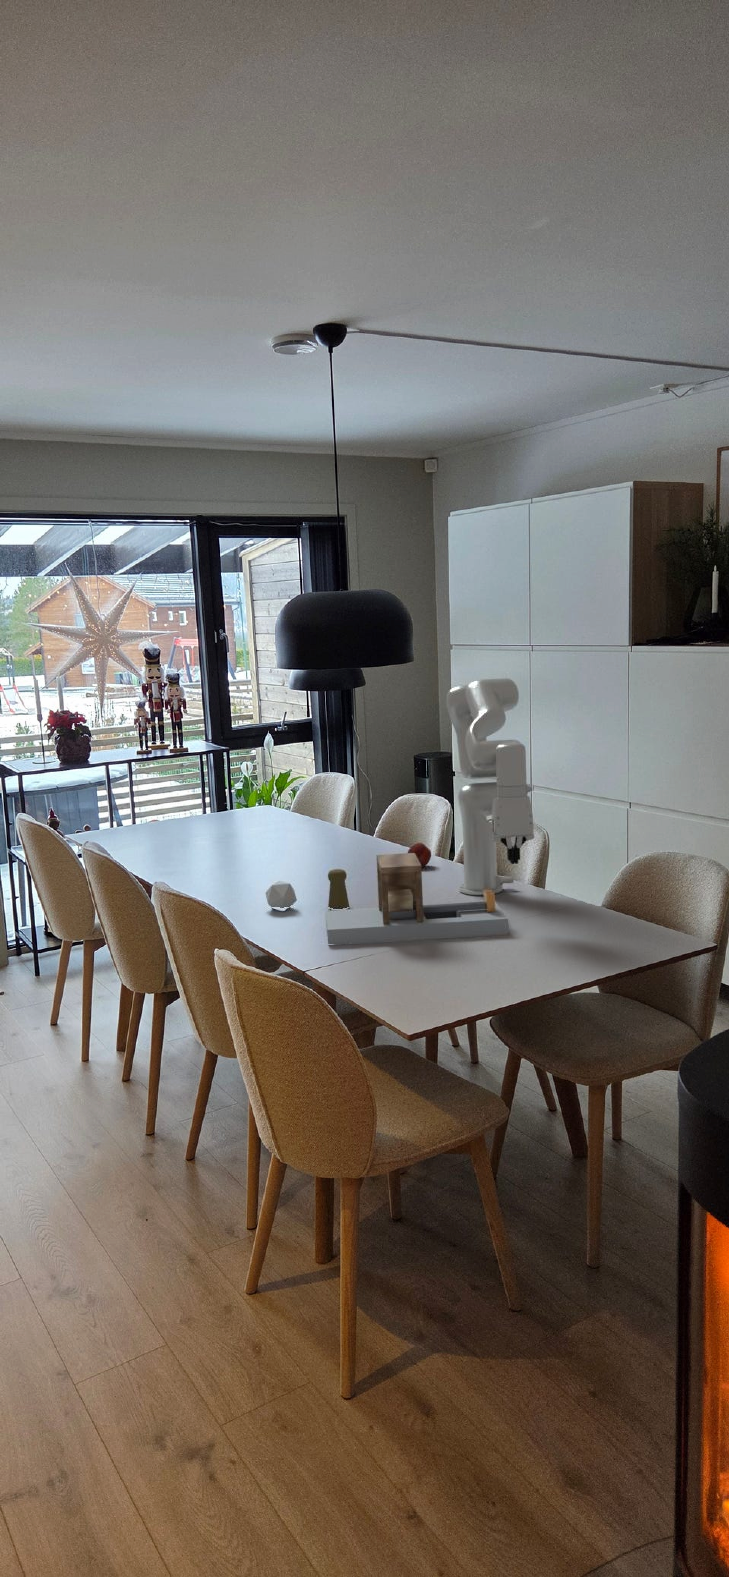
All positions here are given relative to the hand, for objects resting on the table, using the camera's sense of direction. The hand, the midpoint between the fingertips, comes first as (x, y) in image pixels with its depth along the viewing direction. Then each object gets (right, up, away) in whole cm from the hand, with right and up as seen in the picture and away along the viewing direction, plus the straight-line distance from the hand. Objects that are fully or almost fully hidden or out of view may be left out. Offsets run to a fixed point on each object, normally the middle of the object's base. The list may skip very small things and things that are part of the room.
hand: (513, 862), depth 265 cm
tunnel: (-29, -13, +1) cm, 32 cm away
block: (-29, -14, +1) cm, 32 cm away
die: (-61, -15, +27) cm, 69 cm away
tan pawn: (-45, -15, +26) cm, 54 cm away
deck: (-25, -17, +1) cm, 31 cm away
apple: (-20, -7, +72) cm, 75 cm away
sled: (-19, -13, +1) cm, 23 cm away
